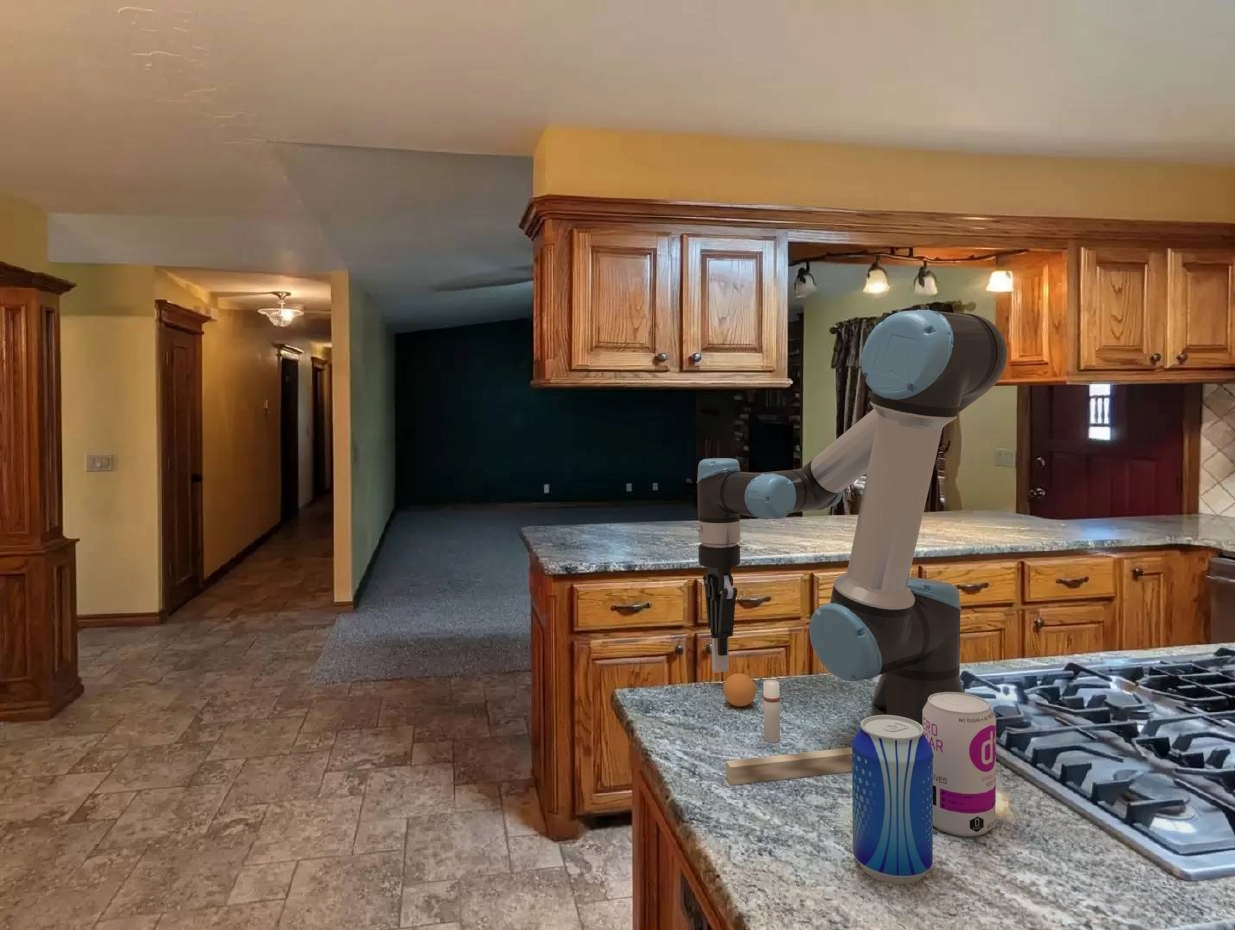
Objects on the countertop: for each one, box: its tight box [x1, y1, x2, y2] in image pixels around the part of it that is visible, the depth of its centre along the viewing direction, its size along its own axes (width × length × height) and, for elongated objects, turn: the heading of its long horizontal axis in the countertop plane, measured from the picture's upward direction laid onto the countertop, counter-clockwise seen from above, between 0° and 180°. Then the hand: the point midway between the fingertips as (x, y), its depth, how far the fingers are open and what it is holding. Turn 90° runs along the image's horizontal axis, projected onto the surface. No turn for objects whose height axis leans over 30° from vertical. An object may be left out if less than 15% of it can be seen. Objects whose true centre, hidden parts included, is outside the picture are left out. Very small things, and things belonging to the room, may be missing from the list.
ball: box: [722, 672, 757, 707], centre depth 141 cm, size 6×6×6 cm
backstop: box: [725, 747, 852, 786], centre depth 115 cm, size 22×2×2 cm, turn 101°
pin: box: [762, 679, 781, 744], centre depth 126 cm, size 2×2×9 cm
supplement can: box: [922, 692, 997, 837], centre depth 100 cm, size 8×8×15 cm
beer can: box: [851, 715, 934, 885], centre depth 91 cm, size 8×8×16 cm
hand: (720, 670), depth 151 cm, fingers closed
